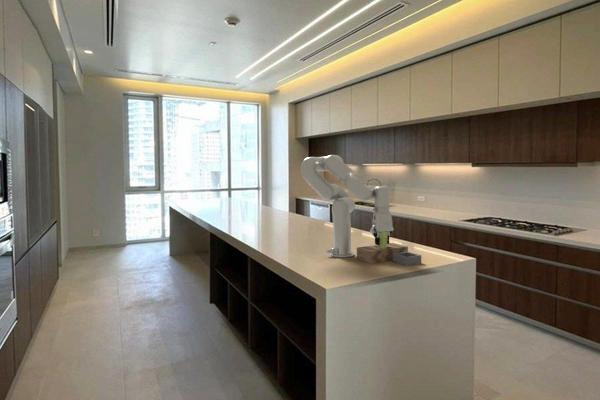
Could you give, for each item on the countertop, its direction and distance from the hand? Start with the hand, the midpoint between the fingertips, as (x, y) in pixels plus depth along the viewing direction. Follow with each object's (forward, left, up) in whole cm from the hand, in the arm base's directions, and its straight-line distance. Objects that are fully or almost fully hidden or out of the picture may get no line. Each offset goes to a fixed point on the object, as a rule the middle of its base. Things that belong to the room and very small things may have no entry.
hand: (382, 243), depth 198 cm
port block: (0, 0, -8) cm, 8 cm away
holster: (+5, -13, -8) cm, 16 cm away
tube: (0, 0, -7) cm, 7 cm away
